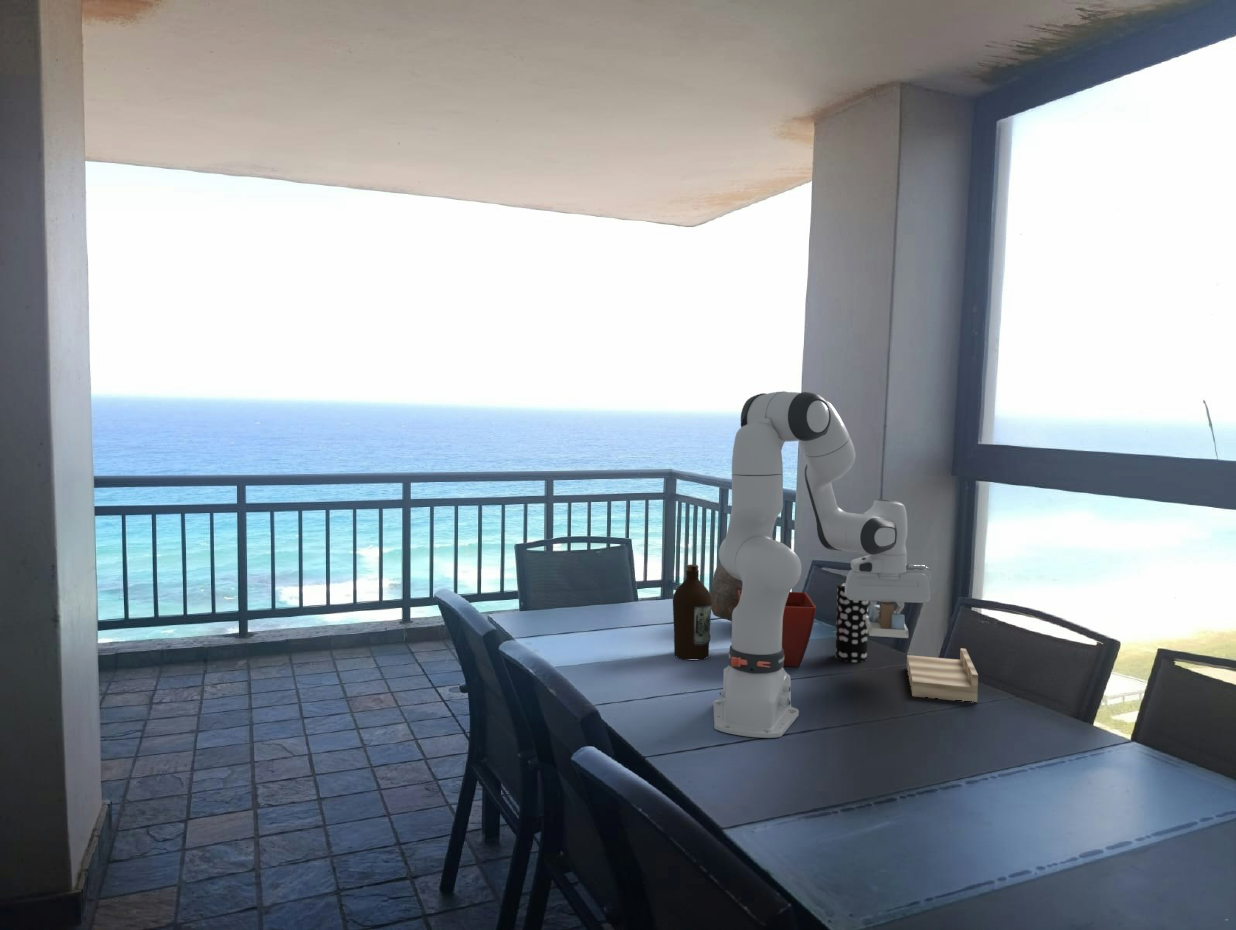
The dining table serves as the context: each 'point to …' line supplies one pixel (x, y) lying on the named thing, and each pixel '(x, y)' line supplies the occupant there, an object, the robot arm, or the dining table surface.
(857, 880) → the dining table surface
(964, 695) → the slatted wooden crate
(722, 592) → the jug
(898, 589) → the robot arm
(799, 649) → the plant pot
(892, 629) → the caddy tray
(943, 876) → the dining table surface
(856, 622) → the white-spotted black cylinder
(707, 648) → the olive oil
